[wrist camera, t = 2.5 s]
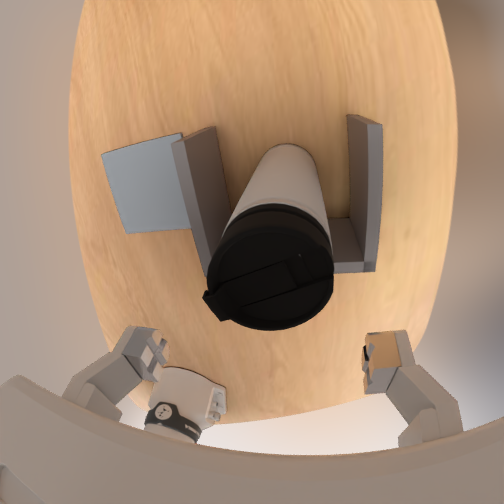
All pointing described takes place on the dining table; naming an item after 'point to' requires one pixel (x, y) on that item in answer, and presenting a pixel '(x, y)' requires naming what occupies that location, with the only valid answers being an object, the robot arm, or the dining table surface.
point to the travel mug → (274, 247)
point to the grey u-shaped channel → (341, 229)
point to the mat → (147, 186)
